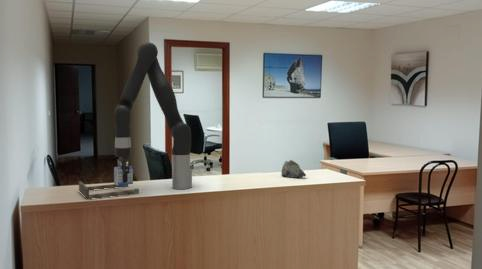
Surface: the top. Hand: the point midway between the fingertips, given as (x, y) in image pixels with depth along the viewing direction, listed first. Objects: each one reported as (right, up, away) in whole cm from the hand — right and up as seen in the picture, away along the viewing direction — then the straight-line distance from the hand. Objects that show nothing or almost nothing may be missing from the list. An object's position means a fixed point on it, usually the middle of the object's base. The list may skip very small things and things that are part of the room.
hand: (123, 181), depth 217 cm
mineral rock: (+87, -2, +37) cm, 94 cm away
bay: (-7, -6, -1) cm, 9 cm away
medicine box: (0, -2, 0) cm, 2 cm away
